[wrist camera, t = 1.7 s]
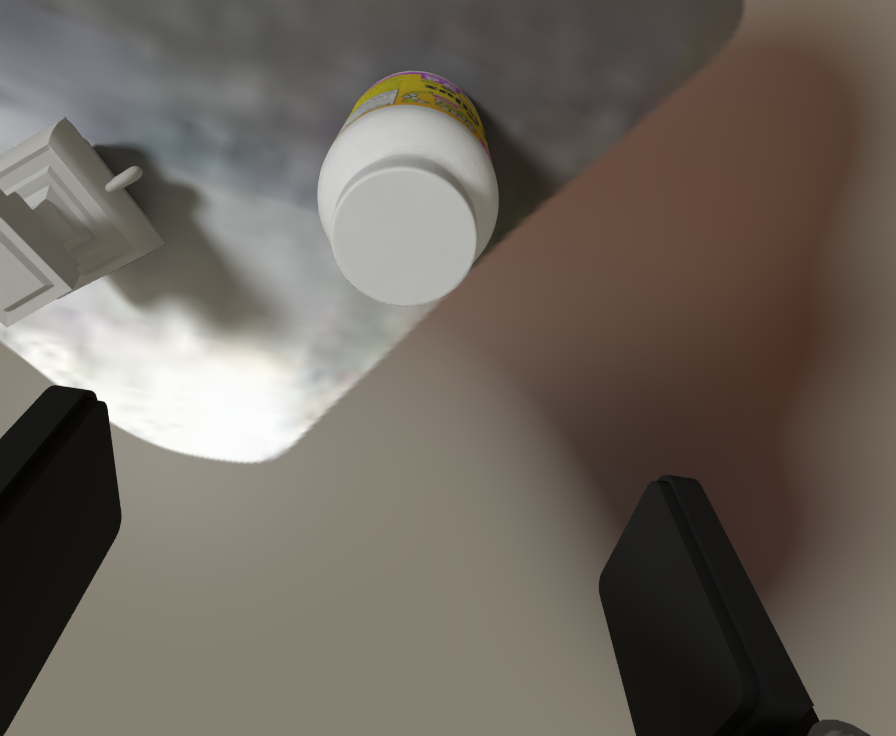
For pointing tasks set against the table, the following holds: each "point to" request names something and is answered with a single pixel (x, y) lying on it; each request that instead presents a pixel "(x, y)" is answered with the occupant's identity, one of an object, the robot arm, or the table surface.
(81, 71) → the table surface
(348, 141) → the supplement bottle
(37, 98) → the table surface
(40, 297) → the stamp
